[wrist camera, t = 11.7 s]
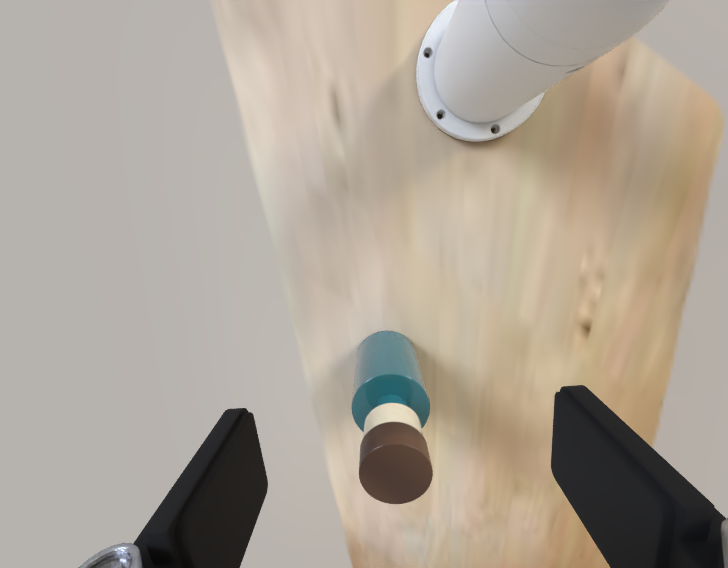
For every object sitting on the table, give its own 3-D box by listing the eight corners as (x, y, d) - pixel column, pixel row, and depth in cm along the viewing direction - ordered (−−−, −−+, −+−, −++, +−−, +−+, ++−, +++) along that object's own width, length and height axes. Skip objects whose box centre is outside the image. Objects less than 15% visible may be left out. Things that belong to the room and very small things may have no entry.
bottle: (386, 318, 39) (394, 390, 25) (428, 358, 40) (460, 448, 26) (344, 358, 40) (328, 448, 26) (386, 395, 42) (393, 501, 27)
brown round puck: (393, 408, 25) (396, 430, 23) (441, 450, 26) (448, 475, 23) (346, 449, 26) (343, 474, 24) (393, 488, 27) (395, 516, 24)
